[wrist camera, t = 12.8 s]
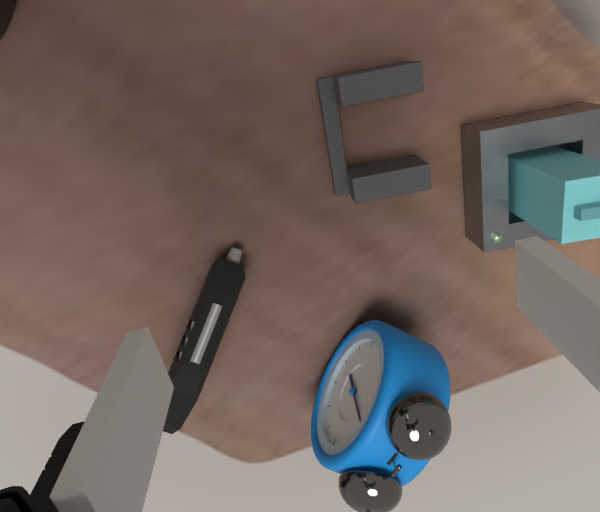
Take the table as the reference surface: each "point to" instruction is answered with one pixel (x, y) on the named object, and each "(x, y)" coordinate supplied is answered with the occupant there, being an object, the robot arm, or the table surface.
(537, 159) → the plug
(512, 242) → the port panel
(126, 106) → the table surface
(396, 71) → the grey u-shaped bracket
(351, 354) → the alarm clock
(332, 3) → the table surface
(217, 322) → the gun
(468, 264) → the table surface
